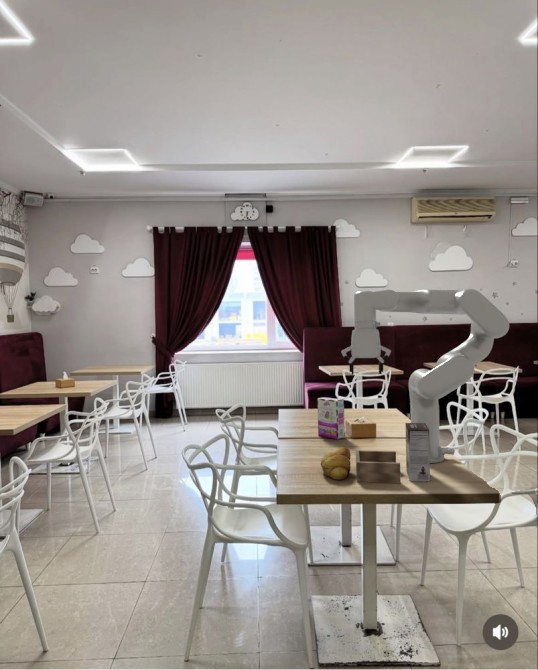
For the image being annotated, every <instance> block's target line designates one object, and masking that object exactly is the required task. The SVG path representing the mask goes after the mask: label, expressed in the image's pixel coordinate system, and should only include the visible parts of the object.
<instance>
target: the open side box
mask: <svg viewBox="0 0 538 670" xmlns="http://www.w3.org/2000/svg"><path fill="white" fill-rule="evenodd" d="M355 470H356V473H355V474H356V482H357V483H378V484H379V483H382V484H401V462H397V451H396V450H362V449H360V450H358V449H356V450H355Z"/></svg>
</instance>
